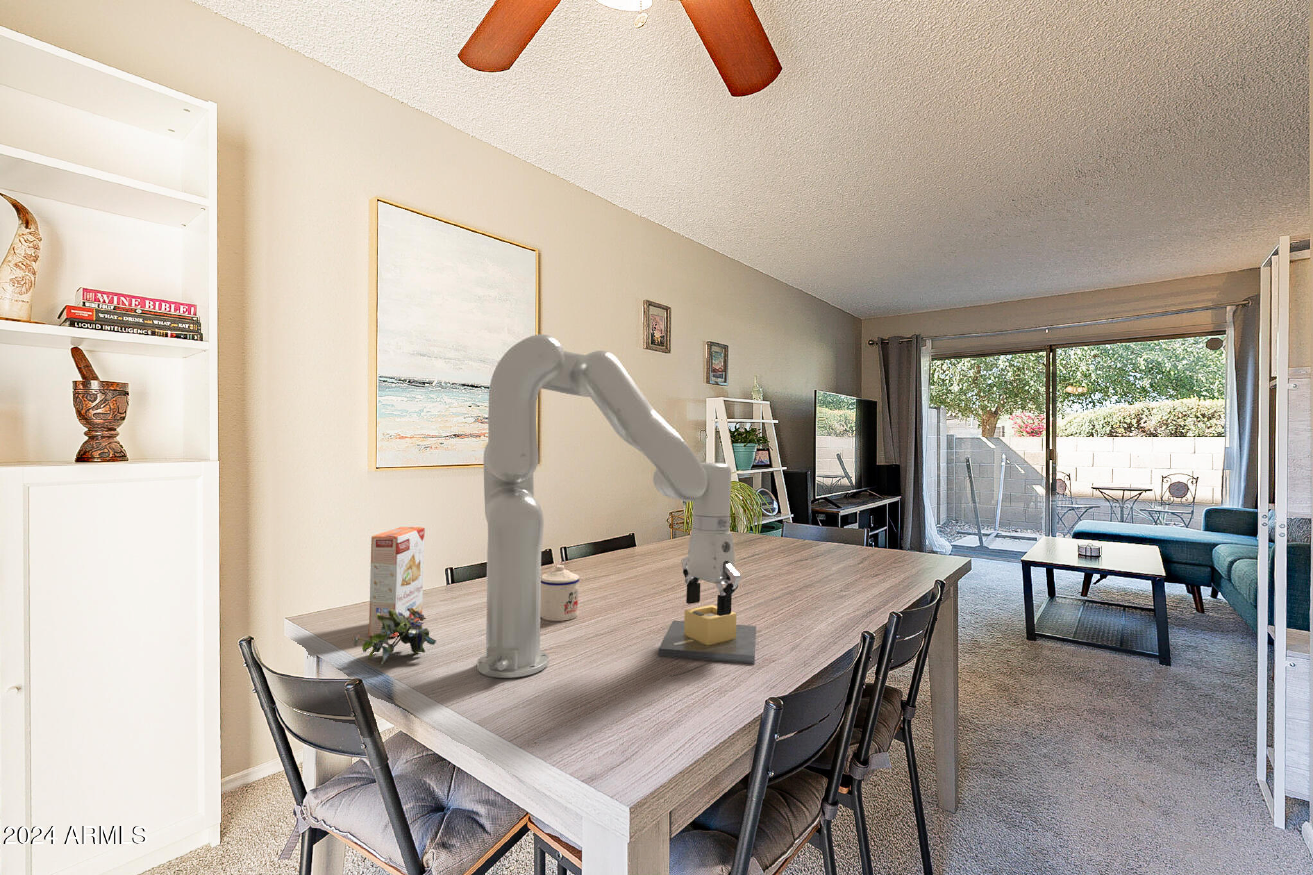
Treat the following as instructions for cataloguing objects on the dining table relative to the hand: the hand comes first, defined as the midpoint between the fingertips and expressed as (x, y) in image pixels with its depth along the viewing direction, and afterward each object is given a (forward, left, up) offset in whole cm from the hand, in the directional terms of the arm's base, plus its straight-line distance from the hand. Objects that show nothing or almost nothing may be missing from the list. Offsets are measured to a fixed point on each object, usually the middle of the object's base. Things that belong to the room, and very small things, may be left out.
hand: (708, 608), depth 121 cm
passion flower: (-21, +56, -8) cm, 60 cm away
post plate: (0, -1, -7) cm, 7 cm away
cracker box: (-4, +66, -7) cm, 67 cm away
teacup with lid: (+13, +35, -7) cm, 39 cm away
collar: (0, 0, -6) cm, 6 cm away
